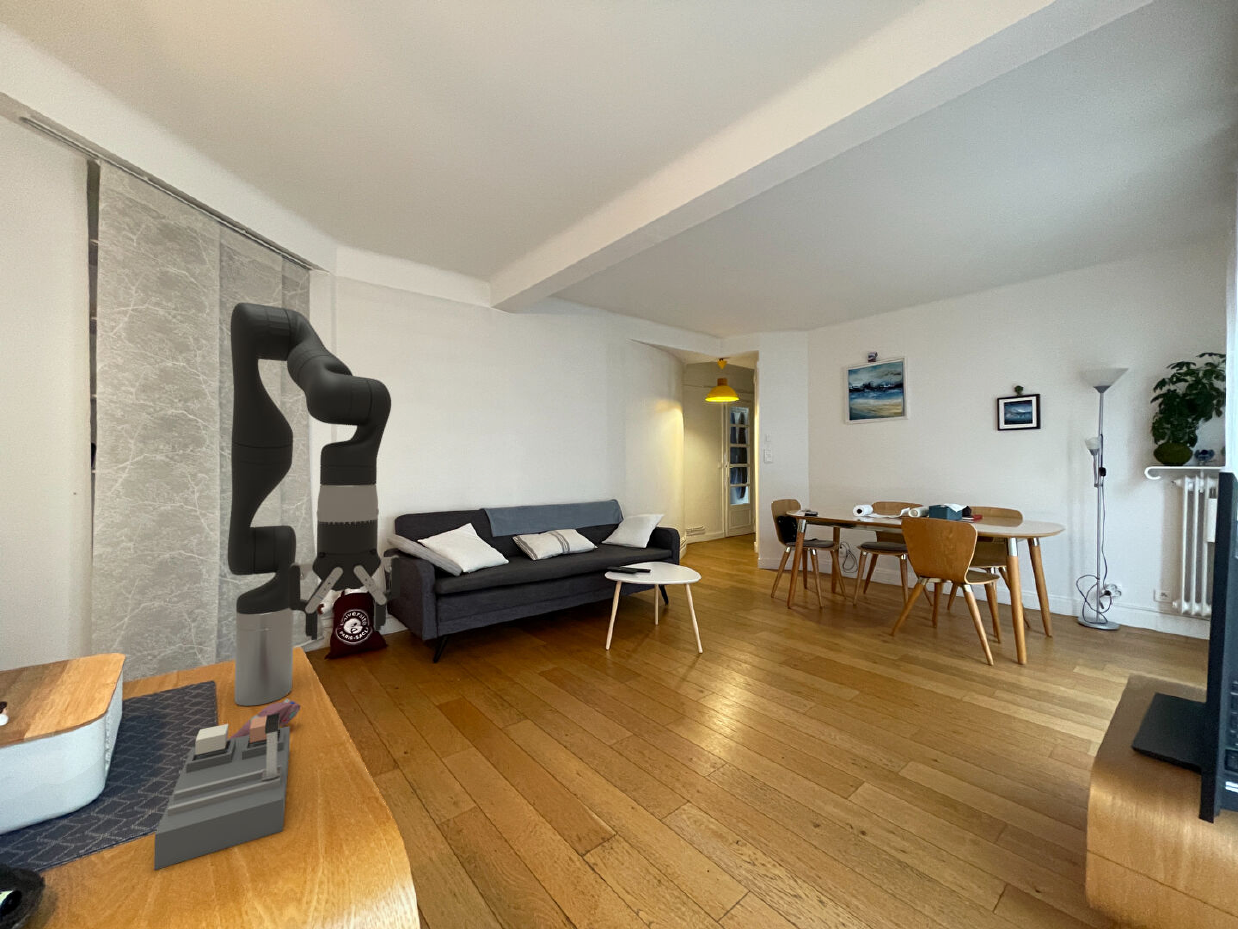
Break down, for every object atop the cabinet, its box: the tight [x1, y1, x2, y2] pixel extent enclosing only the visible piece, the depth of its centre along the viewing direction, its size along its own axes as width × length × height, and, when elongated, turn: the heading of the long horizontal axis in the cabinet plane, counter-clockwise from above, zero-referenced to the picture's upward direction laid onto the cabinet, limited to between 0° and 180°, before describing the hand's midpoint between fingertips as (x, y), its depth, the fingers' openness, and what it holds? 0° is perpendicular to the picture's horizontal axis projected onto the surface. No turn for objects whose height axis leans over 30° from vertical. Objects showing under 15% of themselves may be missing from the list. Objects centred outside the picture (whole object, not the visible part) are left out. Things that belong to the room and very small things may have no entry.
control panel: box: [153, 725, 291, 871], centre depth 68 cm, size 20×12×5 cm, turn 31°
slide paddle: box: [262, 713, 281, 782], centre depth 66 cm, size 3×2×8 cm, turn 32°
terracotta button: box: [250, 716, 267, 743], centre depth 74 cm, size 3×3×2 cm
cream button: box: [194, 723, 229, 755], centre depth 71 cm, size 3×3×2 cm
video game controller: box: [228, 698, 301, 739], centre depth 83 cm, size 10×5×7 cm, turn 169°
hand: (346, 633), depth 70 cm, fingers open, 7 cm apart
